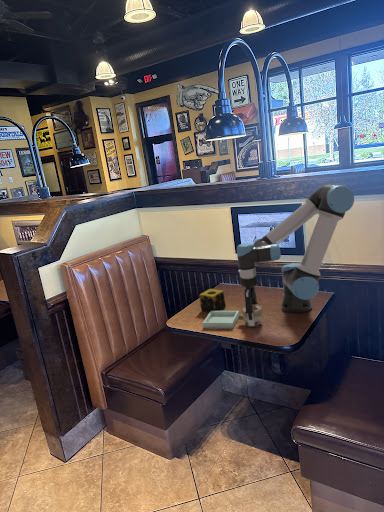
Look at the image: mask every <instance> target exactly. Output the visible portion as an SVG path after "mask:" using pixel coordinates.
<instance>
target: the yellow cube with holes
mask: <svg viewBox="0 0 384 512" xmlns="http://www.w3.org/2000/svg"><path fill="white" fill-rule="evenodd" d="M224 292H225V291H224V289H223V290H220V289H215V288H208V289H207V290H205V291H204V292H201V293H200V294H198V295H199V299H200V300H199V302H200V310H201V312H204V313H208V314H209V313H210V311H223V310H224V309H225V308H226V307H227V306H226V301H225V300H226V299H225V293H224Z"/></svg>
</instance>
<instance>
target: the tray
mask: <svg viewBox="0 0 384 512" xmlns="http://www.w3.org/2000/svg"><path fill="white" fill-rule="evenodd" d="M239 314H240V310H221V311H210V313H208V314H207V316H206V317H205V318H204V320H203V321H202V328H203V329H215V330H217V329H222V330H223V329H225V330H228V329H229V330H234V329H235V326H236V325H237V322H238V320H239Z"/></svg>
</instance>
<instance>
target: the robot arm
mask: <svg viewBox="0 0 384 512" xmlns="http://www.w3.org/2000/svg"><path fill="white" fill-rule="evenodd" d="M354 204H355V195H354V193H353V190H352V189H350V188H349V187H348V186H346V185H344V184H332V183H328V184H325V185H323V186H320V187H319V188H318V189H317V190H315V191H314V192H313V193H312V194H311V195H309V196H308V197H307V198H306V199H305V202H304V203H303V204H301V206H299V207H298V208H297V209H296V210H294V211H293V212H292V213H291V214H289V215H288V216H287V217H286V218H284V220H282V221H281V222H280V223H278V224H277V225H276V226H275V227H274V228H273V229H271V230H270V231H269V232H267V233H266V234H265V235H264V236H262V237H261V238H258V239H256V240H255V241H253V244H252V243H249V242H247V243H241V244H238V245H237V246H236V256H237V263H238V273H239V277H240V278H239V279H240V286H242V287H245V289H244V293H243V294H244V301H245V302H244V303H245V307H246V312H245V313H246V314H247V315H248V324H249V326H255V323H254V315H253V310H252V305H259V302H258V300H257V293H256V285H257V284H258V283H257V282H258V280H257V271H256V264H259V263H261V264H262V263H267V262H274V261H279V260H280V259H281V255H282V254H281V249H280V245H279V244H280V243H282V242H283V241H284V240H286V239H287V238H288V237H289V236H290V235H292V234H293V233H294V232H296V231H297V230H299V229H300V227H302V226H303V225H305V223H307V222H308V221H309V220H311V219H312V218H313V217H315V216H316V215H318V217H317V221H316V223H315V226H314V228H313V231H312V233H311V236H310V239H309V241H308V244H307V246H306V249H305V251H304V253H303V257H302V259H301V262H299V263H297V262H296V263H295V262H294V263H287V264H284V265H283V266H281V277H282V288H283V289H282V290H283V296H282V299H281V303H280V306H281V307H280V308H281V310H282V311H284V312H285V313H291V314H299V313H305V312H308V311H310V310H311V309H312V308H313V303H312V301H311V299H313V298H314V297H316V296H317V294H318V293H319V290H320V283H319V281H320V277H321V276H322V275H321V272H320V269H321V265H322V263H323V260H324V258H325V255H326V253H327V250H328V247H329V246H330V245H329V244H330V243H331V240H332V238H333V235H334V233H335V231H336V227H337V225H338V223H339V221H340V220H343V219H344V218H345V214H346V212H349V211H350V210H351V209H352V208H353V206H354Z"/></svg>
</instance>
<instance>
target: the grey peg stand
mask: <svg viewBox="0 0 384 512" xmlns="http://www.w3.org/2000/svg"><path fill="white" fill-rule="evenodd" d="M254 323H255V326H249V324H248V322H246V321H244V324H245V328H246V327H247V328H249V327H250V328H259V326H260V323H261V321H258V322H254Z"/></svg>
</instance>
